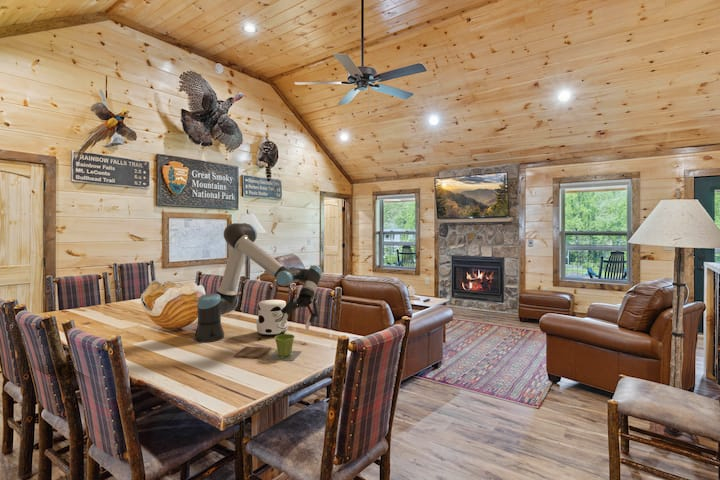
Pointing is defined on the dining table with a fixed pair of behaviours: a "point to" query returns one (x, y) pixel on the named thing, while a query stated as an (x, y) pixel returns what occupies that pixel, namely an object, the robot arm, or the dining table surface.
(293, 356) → the slate mat
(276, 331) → the milk container
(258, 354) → the walnut board
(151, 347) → the dining table surface
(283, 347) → the plant pot
